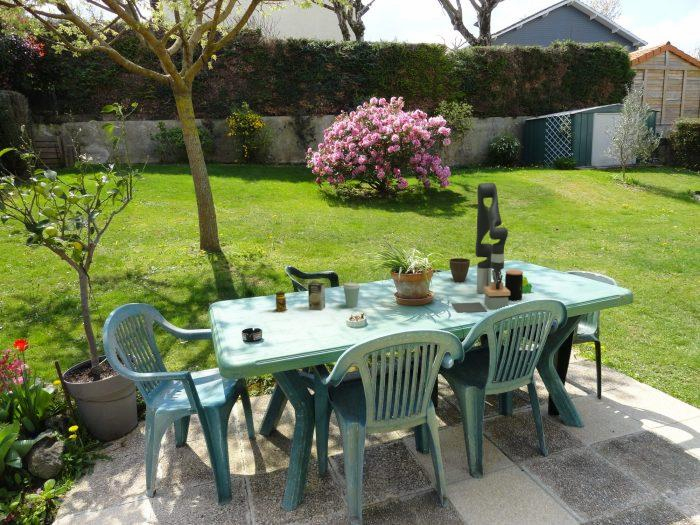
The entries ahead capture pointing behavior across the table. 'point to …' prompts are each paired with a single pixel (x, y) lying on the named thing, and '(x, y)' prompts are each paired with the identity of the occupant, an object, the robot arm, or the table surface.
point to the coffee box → (316, 295)
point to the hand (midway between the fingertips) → (496, 288)
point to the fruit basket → (526, 286)
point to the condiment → (280, 302)
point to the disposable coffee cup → (351, 294)
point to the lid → (496, 290)
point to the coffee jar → (514, 284)
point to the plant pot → (459, 268)
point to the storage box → (496, 301)
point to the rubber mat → (468, 307)
